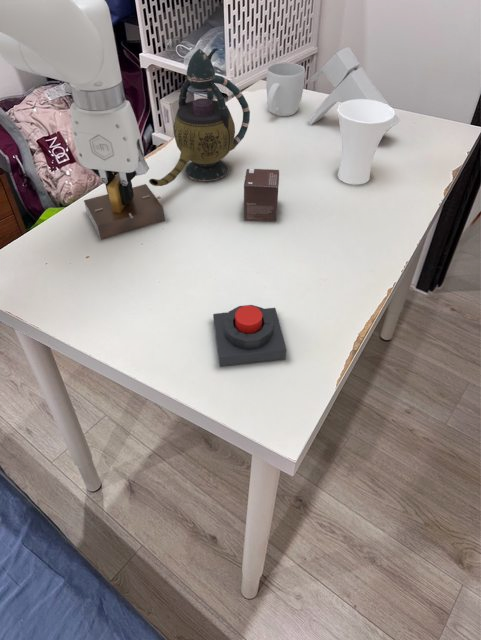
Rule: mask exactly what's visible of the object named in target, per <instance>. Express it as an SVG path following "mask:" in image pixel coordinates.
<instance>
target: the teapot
mask: <svg viewBox="0 0 481 640" xmlns="http://www.w3.org/2000/svg"><path fill="white" fill-rule="evenodd" d="M218 50H219V48H213V49H212V50H211V51H210V52H209V54H208V55H207V53H206V52H205V51H203V50H202V49H200V48H198V49H197V50H196V51H195V52H194V53H193V54H192V56H191V57H190V59H189V62H188V65H187V68H186V69H187V70H186V79H185V80H184V81H183V84H182V85H181V86H180V90H179V91H180V93H179V95H178V108H177V111H176V114H175V118H174V122H173V127H172V128H173V137H174V140H175V144H176V147H177V148H178V150H179V151H180V155H179V158H178V160H177V163H176V164H175V166H174V168H173V169H172V170H171V171H170V172H169V173H167V174H166V175H165V176H164V177H162V178H160V179H156V178H150V179H149V180H148V183H149V184H150V185H152V186H154V187H163V186H166V185H169V184H170V183H172V182H173V181H175V180H176V178H177V177H178V176H179V175H180V173H182V171H183V170H184V173H185V176H186V177H187V178H188V179H189V180H191V181H194V182H197V183H207V184H208V183H214V182H215V183H216V182H219V181H221V180H223V179H224V178H226V176H228V174H229V166H228V164H226V163H225V162H224V161H222V160H223V159H224V158H225V157H226V156H228V155H229V153H230V152H231V151H233V150H234V149H236V147H237V146H238V145H239V144H240V143H241V141H242V140H243V139H244V138H245V136H246V133H247V131H248V128H249V125H250V119H251V118H250V117H251V111H250V107H249V103H248V102H247V100H246V98H245V96H244V94H243V93H242V91H241V90H240V89H239V87H238V86H237V85H235V83H233V82H232V81H231V80H229V79H228V78H226V77H224V76H223V75H218V74H216V71H215V68H214V65H213V63H212V57H213V55H214V54H215V53H216V52H217V51H218ZM217 85H221V86H223V87H225V88H227V90H228V91H230V92H231V93H232V94H233V95H234V97H235V98H236V100H237V101H238V103H239V105H240V107H241V111H242V122H241V125H240V128H239V131H238V133H237V134H236V125H235V122H234V119H233V116H232V113H231V112H230V109H229V107H228V105H227V104H226V100H225V96H223V94H222V92H221V90H220V88H219V86H217ZM190 86H191V87H192V89H194V90H197V91H205V90H206V98H204V97H203V98H202V97H201V98H196V99H194V100H190V101H187V98H188V96H187V95H188V90H189V88H190ZM214 97H215V98H216V100H214ZM189 162H190V163H189ZM184 168H185V169H184Z"/></svg>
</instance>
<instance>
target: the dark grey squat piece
mask: <svg viewBox="0 0 481 640" xmlns="http://www.w3.org/2000/svg"><path fill="white" fill-rule="evenodd" d="M243 306H254V307H256V308H258V309H259V310H260V311H261V312H262V326H261V328H260V330H259V331H257V332H255V333H252V334H245V333H242V332H240V331H239V330H238V329H237V328H236V325H235V313H236V311H237V310H238V309H239V308H241V307H243ZM212 318H213V319H212V320H213V329H214V336H215V344H216V350H217V357H218V366H219V368H223V367H233V366H240V365H249V364H250V365H251V364H260V363H268V362H279V361H285V360H286V357H287V346H286V343H285V339H284V334H283V331H282V328H281V323H280V320H279V316H278V313H277V308H276V307H268V308H264V307H261V306H257V305H254V304H247V305H246V304H245V305H238V306H236V307H235V308H233V309H231V310H229V311H227V312H217V313H213V314H212Z"/></svg>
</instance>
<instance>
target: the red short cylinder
mask: <svg viewBox="0 0 481 640" xmlns="http://www.w3.org/2000/svg"><path fill="white" fill-rule="evenodd" d="M242 306H243V307H241V308H239V309H238V310H237V311H236V313H235V325H236V328H237V329H238V330H239V331H240V332H242V333H245V334H252V333H255V332H257V331H259V330H260V328H261V326H262V312H261V311H260V310H259V309H258V308H256V307H254V306H255V305H254V306H244V305H242Z"/></svg>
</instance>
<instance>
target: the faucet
mask: <svg viewBox="0 0 481 640" xmlns="http://www.w3.org/2000/svg"><path fill="white" fill-rule="evenodd" d="M359 67H360V62H359V60H358V59H357V57H356V56H355V54H354V52H353V50H352V49H351V47H350V46H347V47H343V49H340V50H339V51H337V52H336V53H334V55H333V56H332V57H331V58H330V59H329V60H328V61H327V62H326V63H325V64H324V65H323V67H322V68H321V69H319V70H318V71H316V72H315V73H313V75H312V76H311V78H310V79H309V82H310V83H311V82H316V81H317V80H319V78H320V77H321V75H323V74H324V76H325V77H326V78H327V80H328V81H329V83H330V84H331V85H332V86H333V88H334V89H333V90H332V91H331V92H330V94H329V95H328V96H327V97H326V98H325V99H324V100H323V101H322V103H320V105H319V106H318V107H317V109H316V110H315V112H314V113H313V114H312V115H311V117H310V118H309V125H313V124H314V123H317V122H318V121H319V120H322V119H323V118H324V116H325V115H326V114H327V113H328V112H329V111H330V110H331V109H332V108H333V107H334V106H335V105H336V104H337V103H340V104H342V103H343V102H346V101H349V100H355V99H368V100H375V101H379V102H382V103H385V104H387V105H389V106H390V104H389V103H388V102H387V100H386V98H384V96H383V95H382V93H381V91H379V89H378V88H377V86H376V84H374V82H373V81H372V79H371V78H370V77H369V76H368V74H367V73H366V71H365V70H364V68H363V67H360V68H359ZM400 122H401V120H400V118H399V116H397V114H396V113H395V115H394V117H393V119H392V121H391V123H390V124H389V126H388V128H387V130H386V131H385V133H387V132H388V131H390V129H392V128H393V127H395V126H396V125H398V123H400Z"/></svg>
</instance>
